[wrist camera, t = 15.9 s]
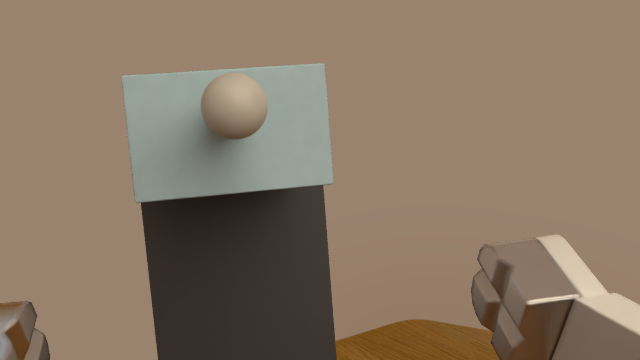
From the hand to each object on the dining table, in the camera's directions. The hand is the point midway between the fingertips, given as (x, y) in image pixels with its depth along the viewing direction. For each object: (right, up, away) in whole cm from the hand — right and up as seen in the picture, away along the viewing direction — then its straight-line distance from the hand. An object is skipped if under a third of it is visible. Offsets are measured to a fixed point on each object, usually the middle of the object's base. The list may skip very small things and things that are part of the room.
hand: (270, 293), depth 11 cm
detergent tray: (-3, +2, +16) cm, 17 cm away
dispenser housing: (-4, -18, +32) cm, 37 cm away
